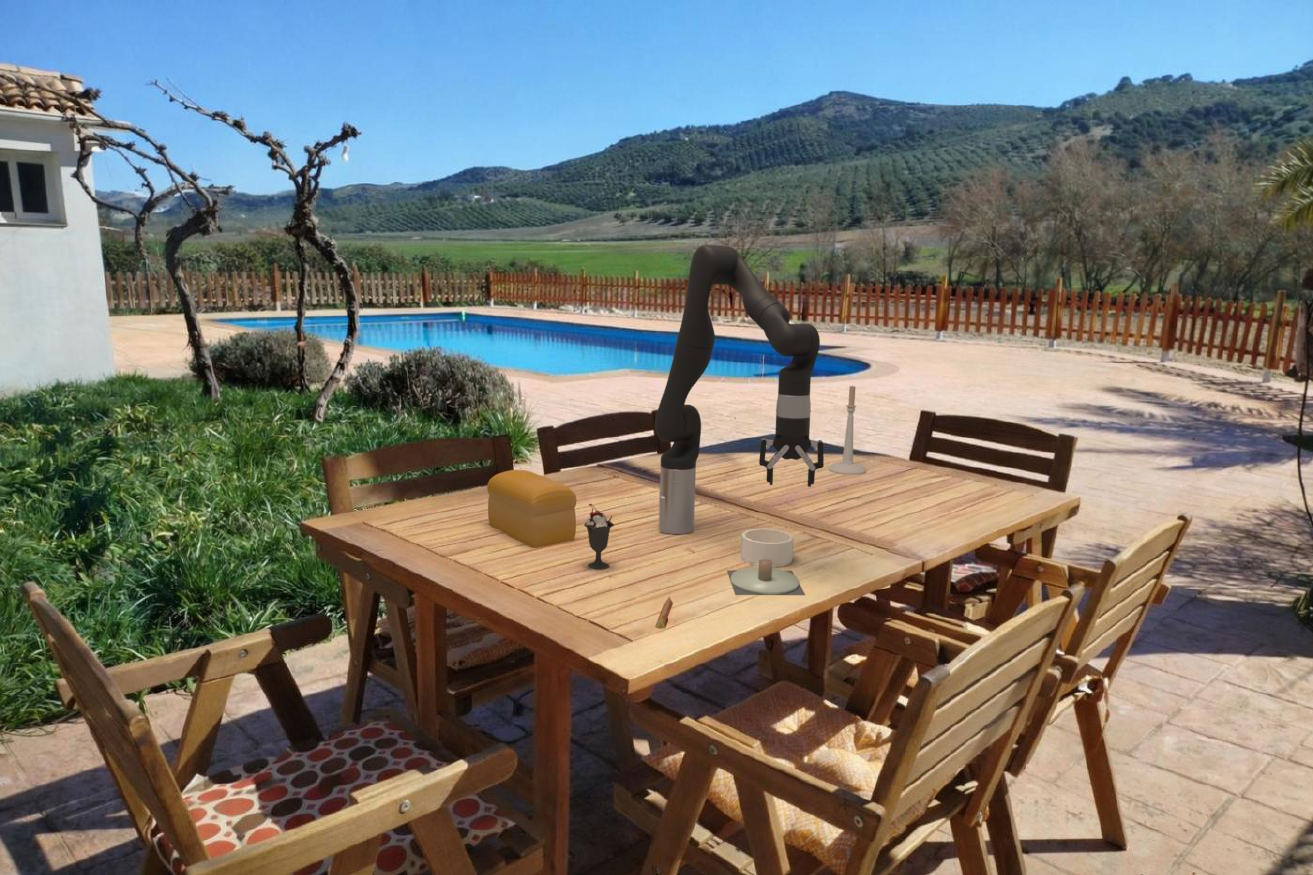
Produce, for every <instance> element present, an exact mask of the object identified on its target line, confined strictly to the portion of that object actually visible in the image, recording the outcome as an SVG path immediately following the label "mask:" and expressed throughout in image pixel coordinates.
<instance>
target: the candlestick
mask: <svg viewBox="0 0 1313 875" xmlns="http://www.w3.org/2000/svg"><path fill="white" fill-rule="evenodd" d="M848 391H849V392H848V404H847V405H845V406H846V407H847V409H846V411H847V412H848V414H847V420H846V428H845V435H844V436H845V438H844V447H843V452H842V453H843V454H842V461H841V462H836V463H833V464H831V465H829V466H828V471H829V472H831V473H834V474H839V475H846V476H847V475H848V476H850V475H851V476H859V475H864V474H866V473H867V469H866V468H865V467H864V466H863V465H861V464H859V463H855V462H854V412H855V410H856V407H857V405H855V403H856V402H855V399H856V386H854V385H849V390H848Z"/></svg>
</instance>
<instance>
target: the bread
mask: <svg viewBox="0 0 1313 875" xmlns="http://www.w3.org/2000/svg"><path fill="white" fill-rule="evenodd" d="M486 490H487V493H488V499H487V517H488V523H489V525H490V527H492V528H493V527H494V529H495V530H497V529H499V530H501V531H502V533H503V532H504V533H503V534H505V533H506V534H505V535H507V536H509V537H511V538H513V539H515V540H516V541H518V542H521V543H522V544H525V545H526V546H528V547H531V548H533V549H534V548H535V549H537V548H543V547H547V546H548V547H549V546H552V545H558V544H562V543H567V542H572V541H574V540H575V537H576V532H577V516H576V515H577V514H576V510H575V508H576V505H577V496H576V494H575V492H574V491H573V489H571V488H570V487H568V485H565V484H564V483H560V482H558V481H555V480H553V479H551V478H548V477H545V476H543V475H541V474H538V473H535V472H532V471H529V470H524V469H511V470H506V471H502V472H499V473H496V474H495V475H493V476H492V477H491V478H490V479H489V480H488V482H487V486H486ZM499 530H498V531H499ZM501 531H500V532H501Z"/></svg>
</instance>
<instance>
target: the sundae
mask: <svg viewBox="0 0 1313 875" xmlns="http://www.w3.org/2000/svg"><path fill="white" fill-rule="evenodd" d="M588 506H589V507H591V509H592V510H591V512H590V513H589V517H588V518H587V520H586V522H585V523H584V524H583V526H584V527H585V528H586V529H587V530H586V531H587V535H588V536H587V537H588V542H589V547H590V549H591V550H593V551H594V552H595V560H594V561H593V562H589V563H588V564H587V567H588V568H589V569H592V570H599V571H600V570H605V569H608V568H609V567H610V565H609V563H607V562H605V561H603V560H602V553H603V551H605V550H606V548H608V543H609V537H610V531H611V530H610V529H612V528H613V527H614V526H615V524H614V523H613V522H612V521H611V520H612V518H613V515H611V516H610V517H609V519H608V518H607V515H606V514H605V513H604V512H600V511H599V510H597V509H596V508H595V506H594V505H593V504H592V503H588ZM594 510H595V511H594Z"/></svg>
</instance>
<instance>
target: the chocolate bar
mask: <svg viewBox="0 0 1313 875" xmlns="http://www.w3.org/2000/svg"><path fill="white" fill-rule="evenodd" d="M673 604H674V602H673V600H672V598H671V597H670V596H668V597H667V599H666V600H665V602H664V604H663V606H662V608H661V611H660V613H659V616H658V618H657V621H656V623H655V626H654V628H657V629H659V628H660V629H666V627H667V625H668V622H669V616H670V612H671V609H672V607H673Z"/></svg>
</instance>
